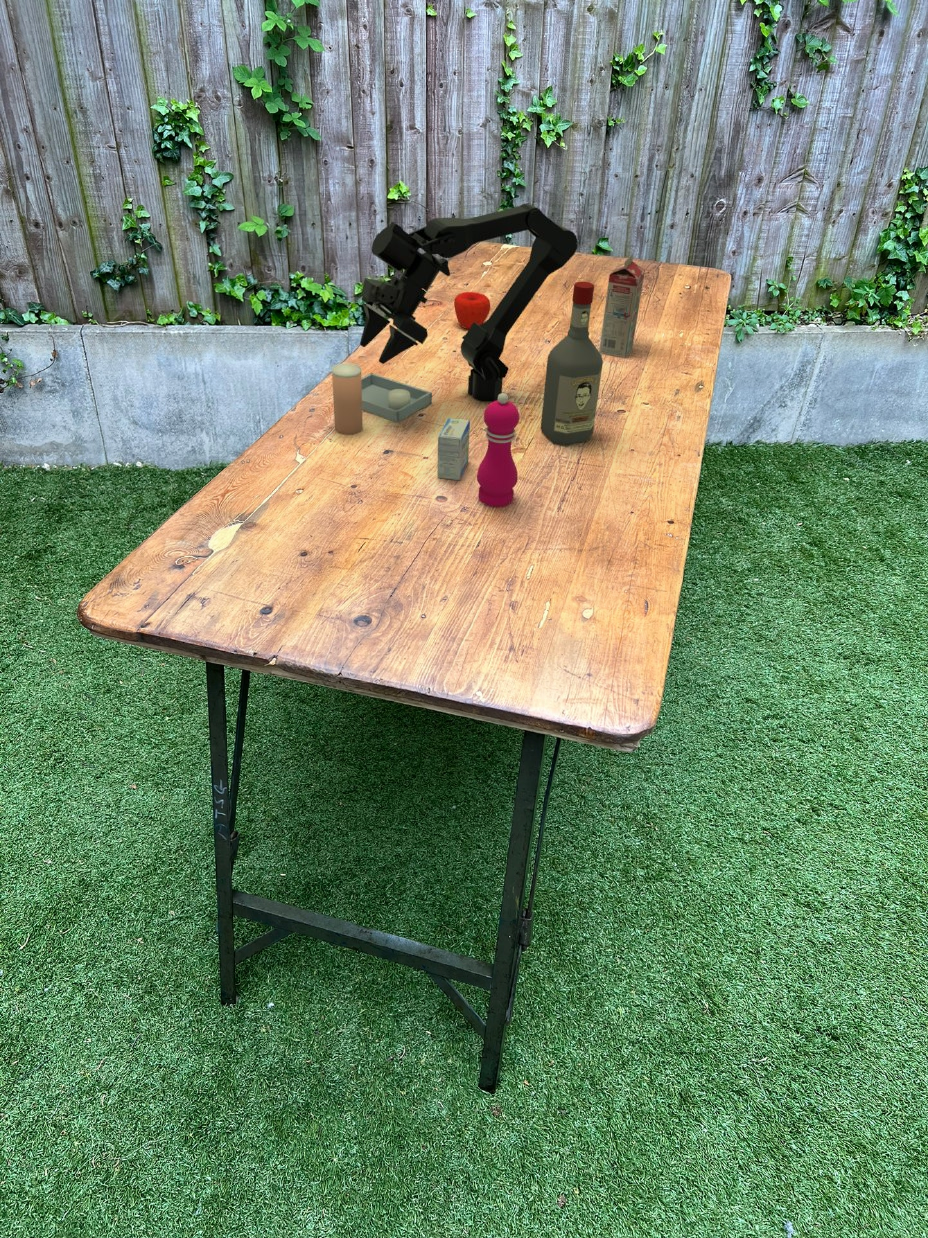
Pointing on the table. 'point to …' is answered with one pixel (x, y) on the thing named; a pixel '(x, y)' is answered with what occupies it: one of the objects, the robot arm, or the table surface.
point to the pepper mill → (498, 454)
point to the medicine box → (453, 449)
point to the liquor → (573, 378)
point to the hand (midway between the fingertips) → (371, 354)
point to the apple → (471, 308)
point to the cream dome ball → (398, 398)
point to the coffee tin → (347, 398)
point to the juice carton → (621, 309)
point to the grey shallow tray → (378, 397)
